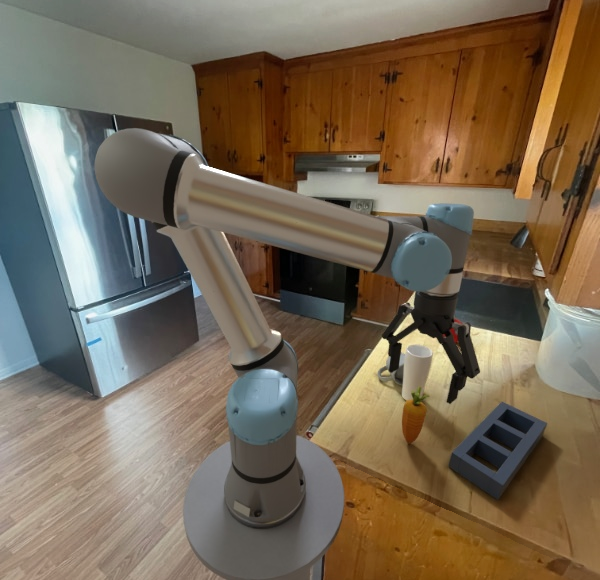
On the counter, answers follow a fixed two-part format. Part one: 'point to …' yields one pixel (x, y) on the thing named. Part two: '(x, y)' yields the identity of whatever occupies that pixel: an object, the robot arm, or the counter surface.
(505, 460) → the block with rectangular holes
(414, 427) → the carrot
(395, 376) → the ceramic mug
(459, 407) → the counter surface
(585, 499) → the counter surface
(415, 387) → the drinking glass
